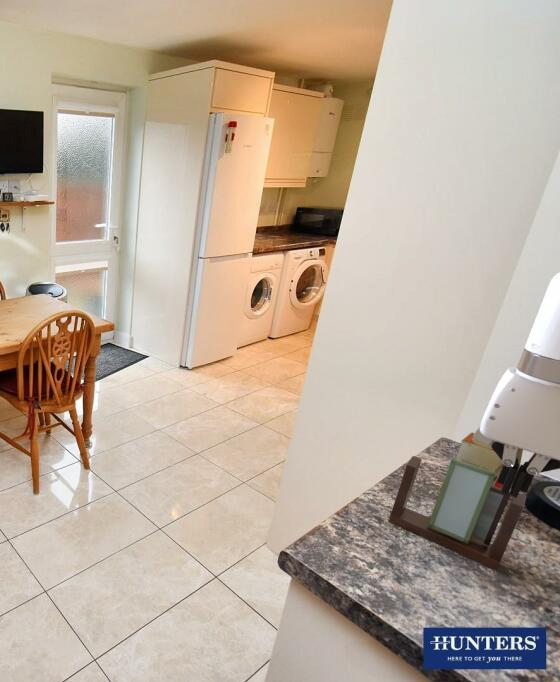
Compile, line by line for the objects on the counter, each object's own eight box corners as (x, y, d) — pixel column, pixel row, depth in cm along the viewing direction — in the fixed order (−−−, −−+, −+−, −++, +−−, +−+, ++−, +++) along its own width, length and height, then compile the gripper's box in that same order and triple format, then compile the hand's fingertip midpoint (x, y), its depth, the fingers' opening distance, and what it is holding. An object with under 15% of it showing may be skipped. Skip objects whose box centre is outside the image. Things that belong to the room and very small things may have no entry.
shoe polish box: (486, 505, 78) (510, 445, 74) (477, 515, 75) (501, 454, 71) (450, 489, 81) (471, 432, 78) (440, 499, 79) (462, 440, 75)
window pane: (427, 526, 70) (451, 459, 66) (428, 524, 70) (452, 457, 66) (467, 544, 66) (495, 474, 62) (468, 542, 67) (496, 472, 63)
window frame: (388, 521, 73) (406, 464, 70) (394, 511, 76) (412, 455, 72) (496, 570, 64) (523, 507, 60) (499, 556, 66) (526, 495, 63)
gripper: (654, 380, 53) (590, 507, 59) (484, 347, 64) (445, 457, 70) (661, 398, 48) (591, 534, 54) (477, 359, 59) (435, 476, 65)
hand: (509, 491), depth 62 cm, fingers closed
